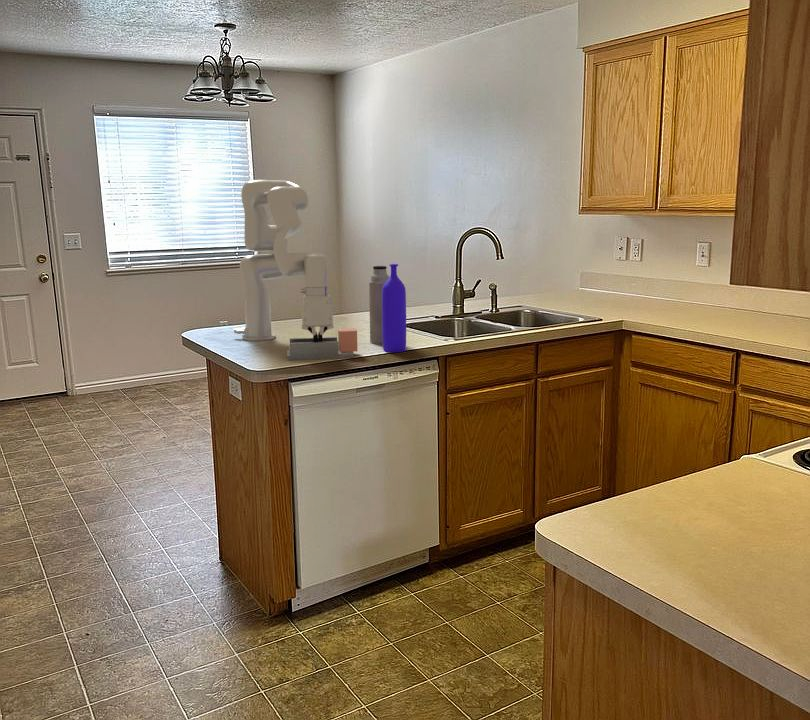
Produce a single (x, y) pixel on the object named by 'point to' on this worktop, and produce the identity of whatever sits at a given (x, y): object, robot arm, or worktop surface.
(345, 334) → the block
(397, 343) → the bottle
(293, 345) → the chute
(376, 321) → the thermos bottle
